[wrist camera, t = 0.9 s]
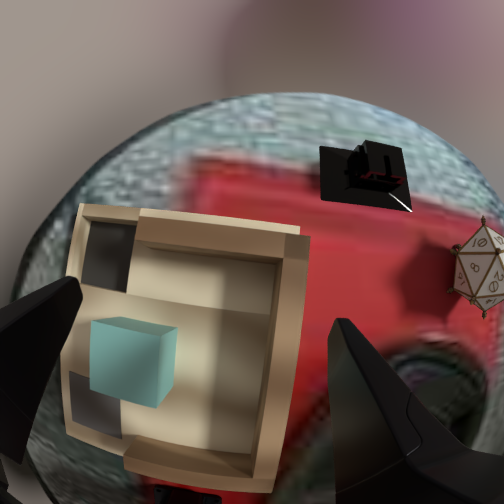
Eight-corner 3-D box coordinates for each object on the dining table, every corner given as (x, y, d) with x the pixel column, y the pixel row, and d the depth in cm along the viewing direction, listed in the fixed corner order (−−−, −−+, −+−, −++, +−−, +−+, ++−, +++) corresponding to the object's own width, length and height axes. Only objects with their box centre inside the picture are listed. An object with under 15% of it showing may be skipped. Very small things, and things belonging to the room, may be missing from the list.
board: (262, 468, 18) (264, 480, 16) (76, 426, 18) (66, 434, 16) (294, 232, 22) (300, 226, 20) (90, 210, 21) (79, 203, 19)
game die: (445, 290, 25) (495, 347, 17) (413, 261, 23) (478, 329, 14) (487, 230, 22) (545, 275, 14) (462, 188, 20) (540, 233, 11)
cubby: (267, 468, 17) (271, 492, 13) (138, 448, 16) (124, 469, 13) (298, 246, 20) (310, 236, 16) (154, 229, 19) (139, 215, 16)
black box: (301, 209, 23) (315, 189, 18) (300, 137, 24) (310, 108, 19) (420, 222, 23) (448, 208, 19) (410, 157, 24) (432, 136, 20)
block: (173, 386, 18) (156, 408, 13) (117, 372, 17) (89, 389, 13) (178, 327, 18) (160, 336, 14) (120, 316, 18) (91, 320, 14)
